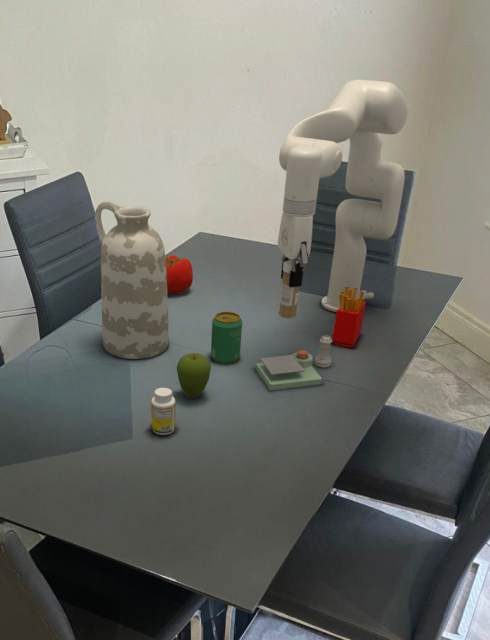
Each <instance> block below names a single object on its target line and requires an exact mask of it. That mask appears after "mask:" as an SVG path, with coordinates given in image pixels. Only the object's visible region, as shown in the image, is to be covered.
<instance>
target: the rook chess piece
mask: <svg viewBox="0 0 490 640" xmlns="http://www.w3.org/2000/svg"><path fill="white" fill-rule="evenodd" d="M319 342H320V344H319V347H320V348H319V352H318V354H317V355H316V357H315V358H314V365H315V366H316V367H317V368H322V369H325V368H326V369H327V368H329V367H330V366H331V365H332V358H331V355H330V349H331V343H332V336H331V335H327V334H326V335H322V336H321V338H320V339H319Z"/></svg>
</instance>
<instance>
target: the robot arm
mask: <svg viewBox="0 0 490 640" xmlns="http://www.w3.org/2000/svg"><path fill="white" fill-rule="evenodd" d="M408 112H409V111H408V103H407V100H406V98H405V96H404V95H403V93H402V90H400V88H399V87H398V86H397V85H395V84H394V83H392V82H389V81H383V80H382V81H381V80H370V79H353V80H350V81H348V82H347V83H345V84H344V85H343V86H342V87H341V89H340V90H339V92H338V93H337V94H336V96H335V97H334V99H333V100H332V102H331V103H330V104H329V106H328V107H327V109H325V110H322V111H320V112H318V113H316V114H313V115H311V116H309V117H306V118H305V119H302V120H301V121H299V122H297V123H296V124H295V125H294V126H293V127H292V129H291V130H290V131H289V133H288V134H287V135H286V137H285V139H284V140H283V142H282V145H281V147H280V150H279V154H278V160H279V161H278V162H279V165H280V168H281V169H283V170H284V172H285V183H284V193H283V201H282V202H283V204H282V214H281V219H280V224H279V231H278V239H277V248H278V250H279V251H280V252H281V253H282V256H281V261H282V263H281V271H280V279H282V280H283V264H284V262H285V261H288V260H292V271H290V277H289V287H299V288H300V287H302V286H303V285H302V284H303V278H304V271H305V268H306V266H307V265H308V264H309V261H308V260H309V259H308V258H309V257H310V254H311V249H312V239H313V224H314V223H313V222H314V220H313V219H314V215H315V214H316V209H317V208H316V207H317V200H318V192H319V185H320V184H319V183H320V179H324V178H329V177H331V176H333V175H334V174H335V173H336V172H337V171H338V170H339V169H340V167H341V165H342V162H343V150H342V147H341V145H340V143H343V142H346V141H347V140H349V151H348V157H347V158H348V159H347V166H346V174H345V189H346V192H347V193H348V194H350V195H353V196H356V197H363V198H368V199H369V198H370V199H376V200H380V202H379V201H373V200H367V199H361V198H348V199H344V200H343V201H341V202H340V203H339V205H337V208H336V211H335V238H334V239H335V240H334V247H333V255H332V262H331V270H330V276H329V283H328V289H327V295H326V296H324V297H323V298H322V299H321V302H320V303H321V306H322V307H323V309H325V310H327V311H329V312H333V313H336V312H337V310H339V308H340V298H339V295H340V294H341V291H344V295H345V287H347V286H348V287H349V290H350V289H352V290H353V291H354V288H357V292H356V297H355V300H356V298H358V297H359V298H360V292H361V291H362V290H361V286H362V281H363V276H364V275H363V274H364V270H365V264H366V259H367V258H366V257H367V244H366V242H365V239H364V237H365V238H372V239H379V240H388V239H390V238H391V237H392V236H393V235H394V234H395V231H396V229H397V225H398V220H399V216H400V210H401V209H400V208H401V205H402V199H403V193H404V188H405V187H404V186H405V180H406V179H405V178H406V177H405V175H406V174H405V169H404V167H403V166H402V165H401V164H400V163H397V162H393V161H392V162H390V161H383V160H381V154H382V148H383V137H382V134H383V135H396V134H398V133H399V132H401V131H402V130H403V128H404V126H405V125H406V122H407V118H408ZM296 261H299V263H297V264H296ZM363 291H364V293H363V298H364V300H372V299H374V297H375V294H374V292H367V290H363ZM352 296H353V292H352ZM351 300H352V298H351Z"/></svg>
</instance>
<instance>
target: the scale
mask: <svg viewBox="0 0 490 640" xmlns="http://www.w3.org/2000/svg"><path fill="white" fill-rule="evenodd" d="M291 355H293V356H294V358H295V359H296V360H297V361H298V363H299V364H300V365H301V366H302V368H303V369H304V370H305V372H296V373H288V374H279V375H271V374H270V373H269V371H268V370H267V368H266V367H265V366H264V364H263V363H262V362H258V363H257V362H256V363H255V367H254V368H255V371H256V372H257V374H258V375H259V376H260V378H261V379H262V381H263V382H264V384H265V385H266V386H267V388H268V389H269V391H277V390H283V389H293V388H294V389H295V388H303V387H310V386H318V385H319V386H320V385H322V382H323V377H321V375H320V374H319V373H318V372H317V370H316V369H315V368H314V367H313V366H312V364H313V359H314V356H313V355H312V354H311V353H308V355H307V359H304V360H302V359H298V358H297V355H298V351H297V352H296V351H295V352H294V353H292V354H291Z"/></svg>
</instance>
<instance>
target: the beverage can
mask: <svg viewBox="0 0 490 640" xmlns="http://www.w3.org/2000/svg"><path fill="white" fill-rule="evenodd" d="M242 331H243V320H242V318H241V315H240V314H239V313H237V312H233V311H219V312H217V313H216V314H215V315H214V317H213V318H212V321H211V339H210V340H211V342H210V357H211V358H212V360H213V361H214V362H216V363H218V364H223V365H229V364H233V363H236V362H237V361H238V360H239V358H240V357H241V345H242Z"/></svg>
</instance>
